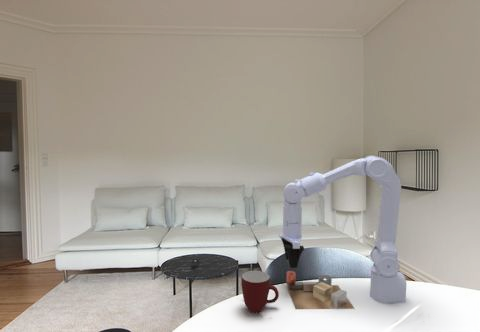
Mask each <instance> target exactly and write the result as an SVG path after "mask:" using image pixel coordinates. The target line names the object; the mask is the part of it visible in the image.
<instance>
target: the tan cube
mask: <svg viewBox="0 0 480 332" xmlns="http://www.w3.org/2000/svg"><path fill="white" fill-rule="evenodd" d="M331 294H332V286H330V285H327V284H325V283H322V282H321V283H318V284H316V285H314V286H313V297H314V298H317V299H319V300H321V301H323V302H325V301H327V300H329V299H331Z"/></svg>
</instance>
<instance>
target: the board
mask: <svg viewBox="0 0 480 332" xmlns="http://www.w3.org/2000/svg"><path fill="white" fill-rule="evenodd" d="M331 286H332V294H333V293H335V292H337V291H338V290H340V289H341V287H340V286H339V285H337V284H331ZM286 289H287V290H288V294H289V296H290V298H291V301H292V303H293V306H294V309H295V310H348V309H349V310H350V309H351V310H353V309H354V310H355V309H356V308H355V306H354V305H353V303H352V302H351V301H350V300H349V298H348V297H347V299H346V304H344V305H343V306H341V307H339V308H337V309H335V308H333V307H331V306H330V304H331V299H329V300H327V301H325V302H323V301H321V300H319V299H317V298H314V297H313V291H303V289H288V287H287V286H286Z"/></svg>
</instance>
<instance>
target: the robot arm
mask: <svg viewBox="0 0 480 332" xmlns="http://www.w3.org/2000/svg"><path fill="white" fill-rule="evenodd" d="M351 176H359V177H365V176H368V178H371V179H373V180H374V181H375V182H376V183H377V184H378V186H380V187H381V196H380V197H381V199H380V206H379V217H378V226H377V228H378V229H377V237H376V240H375V241H374V246H373V248H372V249H371V251H370V259H371V261H372V262H373V264H372V267H371V268H370V286H369V287H370V288H369V297H370V298H371V299H372V300H374V301H375V302H379V303H381V304H395V303H406V301H407V300H406V298H407V280H406V276H405V274H404V273H403V272H402V271H400V268H401V264H400V262H399V260H398V248H397V244H396V241H397V231H398V221H399V212H400V204H401V203H400V202H401V201H400V200H401V193H402V192H401V191H402V182H401V181H400V179H399V177H398V174H397V173H396V171H395V169H394V166H393V165H392V164H391V163H390V162H389V161H388V160H386V159H385V158H383V157H380V156H376V155H367V156H366V157H364V158H363V157H361V158H359V159H355V160H353V161H350V162H348V163H345V164H343V165H341V166H339V167H336V168H334V169H332V170H330V171H327V172H326V173H320V172H315V173H314V171H312V172H310V173H309V174H308V176H306V177H303V178H301V179H298V178H297V179H295V180H294V182H289V183H288V184H287V185H285V186H284V190H283V193H282V195H283V199H284V200H283V205H284V206H283V209H282V210H283V212H282V213H283V214H282V218H283V219H282V233H280V234H278V237H279V238H280V240H281V241H282V245H283V249H284V255H285V259H286V260H287V261H288V264H289V268H291V269H297V268H298V265H299V263H300V262H299V261H300V257H301V255H302V253H303V251H304V250H305V247H304V245H301V240H302V239H303V236H302V235H303V234H302V218H303V217H302V216H303V215H302V212H303V208H302V200H303V198H308V197H310V196H312V195H316V194H317V193H320V192H322V191H325V190H326V188H327V186H328V185H329V184H332V183H334V182H337V181H340V180H342V179H345V178H348V177H351Z"/></svg>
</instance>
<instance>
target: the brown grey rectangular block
mask: <svg viewBox="0 0 480 332" xmlns="http://www.w3.org/2000/svg"><path fill="white" fill-rule="evenodd" d="M347 295H348V292H347V291H346V290H344V289H341V288H340V290H338V291H337V292H335V293H333V294H331V304H330V306H331V307H333V308H335V309H334V310H338V309H337V308H339V307H341V306H343V305H344V304H346V299H347V298H348V296H347Z"/></svg>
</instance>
